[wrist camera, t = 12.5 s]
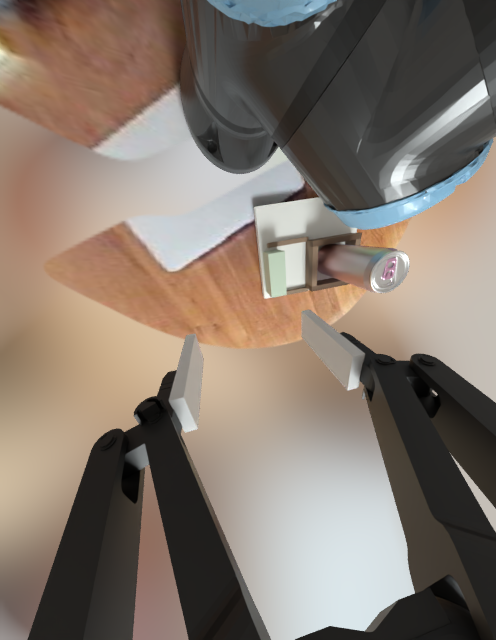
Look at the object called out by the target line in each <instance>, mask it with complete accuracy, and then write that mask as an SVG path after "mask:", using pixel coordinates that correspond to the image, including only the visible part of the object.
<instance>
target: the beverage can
mask: <svg viewBox="0 0 496 640" xmlns="http://www.w3.org/2000/svg"><path fill="white" fill-rule="evenodd" d="M409 264H410V262H409V258H408V256H407V254H406V253H404V252H403V251H398V250H396V249H393V248H382V247H369V246H356V245H344V244H327V245H325V246H324V247H322V248H321V249H320V250H319V252H318V265H317V270H318V271H319V272H320V273H322V274H324V275H327V276H330V277H333V278H335V279H338V280H341V281H344V282H346V283H349V284H352V285H355V286H357V287H360V288H363V289H365V290H368V291H371V292H378V293H387V292H390V291H392V290H394V289H395V288H396V287H398V286H399V285H400V284H401V283H402V281H403V280H404V279H405V277H406V275H407V273H408V270H409Z"/></svg>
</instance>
